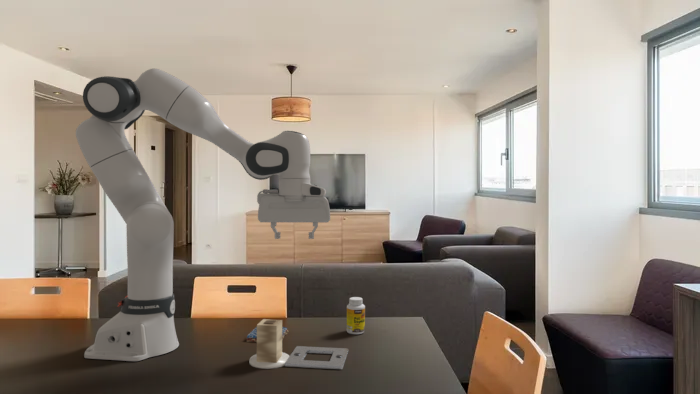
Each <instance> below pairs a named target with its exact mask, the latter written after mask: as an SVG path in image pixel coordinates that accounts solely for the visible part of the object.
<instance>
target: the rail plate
mask: <svg viewBox="0 0 700 394" xmlns="http://www.w3.org/2000/svg"><path fill="white" fill-rule="evenodd" d="M348 353H349V348H347V347H346V348H345V347H344V348H343V347H327V346H326V347H324V346H323V347H321V346H305V345H304V346H303V345H296V347H294V349H293V351H292V352H291V353H290V354H289V358H288V359H287V361H286V362H285V365H284V367H286V368H287V367H288V368H289V367H290V368H306V369H307V368H308V369H328V370H343V369H344V365H345V362H346V359H347V357H348ZM307 354H316V355H317V354H321V355H323V354H324V355H331V357H330V360H329V361H328V360H311V359H310V360H308V359H305V358H306V356H307Z"/></svg>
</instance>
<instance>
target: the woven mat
mask: <svg viewBox="0 0 700 394" xmlns="http://www.w3.org/2000/svg"><path fill="white" fill-rule="evenodd" d="M288 333H290V332H289V330H288V327H285V326H282V341H283V340H284V339H285V337H286V335H288ZM246 342H250V343H251V342H255V343H257V326H256V327H254V329H252V330H251V331H250V332H249V333H248V334H247V336H246Z"/></svg>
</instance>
